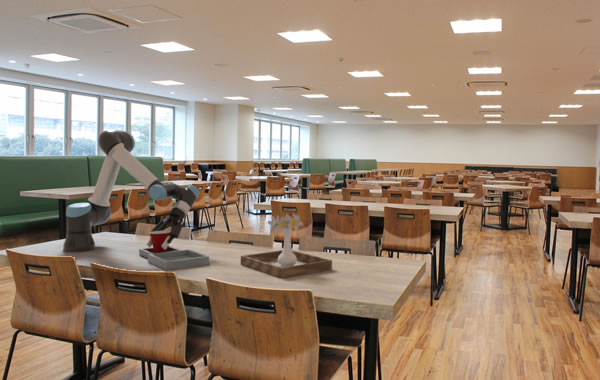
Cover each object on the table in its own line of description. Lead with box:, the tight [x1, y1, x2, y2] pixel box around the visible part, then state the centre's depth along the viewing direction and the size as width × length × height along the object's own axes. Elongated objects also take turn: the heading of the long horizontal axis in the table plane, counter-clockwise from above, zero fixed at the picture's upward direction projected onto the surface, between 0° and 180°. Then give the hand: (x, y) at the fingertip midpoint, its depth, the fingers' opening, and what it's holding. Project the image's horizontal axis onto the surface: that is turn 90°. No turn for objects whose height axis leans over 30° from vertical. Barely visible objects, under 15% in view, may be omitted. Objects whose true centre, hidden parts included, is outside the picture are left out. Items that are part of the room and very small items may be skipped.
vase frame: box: [240, 249, 333, 279], centre depth 220 cm, size 31×27×4 cm
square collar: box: [138, 245, 181, 260], centre depth 241 cm, size 15×15×3 cm
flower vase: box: [267, 213, 304, 268], centre depth 219 cm, size 12×18×24 cm
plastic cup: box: [148, 229, 171, 253], centre depth 240 cm, size 11×11×12 cm
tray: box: [147, 249, 210, 271], centre depth 225 cm, size 20×20×4 cm
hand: (155, 246), depth 238 cm, fingers closed on plastic cup, 10 cm apart
